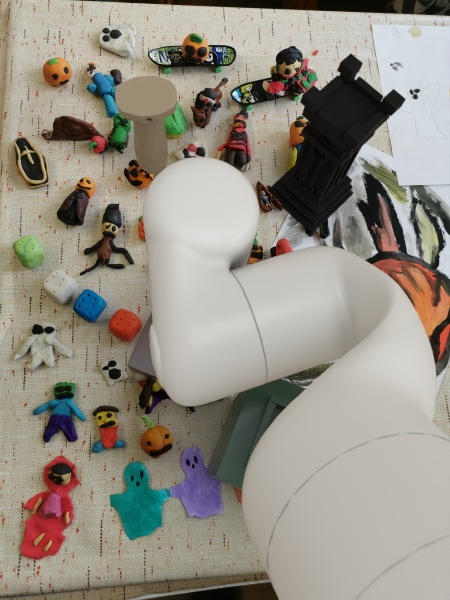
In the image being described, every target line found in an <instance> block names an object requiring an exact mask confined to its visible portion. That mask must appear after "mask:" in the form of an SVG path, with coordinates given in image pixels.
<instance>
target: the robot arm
mask: <svg viewBox="0 0 450 600" xmlns="http://www.w3.org/2000/svg"><path fill="white" fill-rule="evenodd" d="M165 167H166V168H165V169H163V170H162V171H161V172H160V173H159V174H158V175H157V176H156V177H155V178H154V179H152V181H151V183H150V184H149V186H148V188H147V190H146V193H145V194H144V199H143V203H142V224H143V230H144V238H145V249H146V258H147V259H146V260H147V268H148V279H149V293H150V306H151V307H150V308H151V312H152V324H151V326H150V331H149V338H150V343H149V344H150V351H151V359H152V363H153V367H154V370H155V372H156V377H157V379H158V381H157V382H158V383H159V385H160V386H161V388H162V389H164V391H165V392H166V394H167V396H168V397H169V399H171V400H172V401H173V402H174V403H176V404H177V405H179V406H182V407H198V406H202V405H206V404H210V403H212V402H217V401H219V400H222V399H225V398H228V397H231V396H233V395H237V394H238V393H240V392H243V391H245V390H248V389H251V388H254V387H257V386H260V385H263V384H265V383H268V382H271V381H274V380H277V379H280V378H281V379H283V378H286V377H289V376H292V375H295V374H297V373H300V372H301V373H302V372H304V371H306V370H309V369H312V368H315V367H318V366H322V365H325V364H328V363H330V362H334V361H335V362H334V363H333V364H332V365H330V366H329V367H328V368H327V369H326V370H324V371H323V372H322V373H321V374H320V375H319V376H318V377H316V378H315V379H314V380H313V381H312V382H311V383H310V384H309V385H308V386H307V387H306V388H305V390H304V391H303V392H302V393H301V394H300V395H299V396H298V397H296V398H295V399H294V400H293V401H292V402H291V403H290V404H289V405H288V406H287V407H286V408H285V409H284V410H283V411H282V412H281V413H280V414H279V415H278V416H277V417H276V419H275V420H274V421H273V423H272V424H271V425H270V426H269V428H268V429H267V430H266V432H265V433H264V434H263V436H262V437H261V439H260V440H259V442H258V444H257V445H256V447H255V449H254V451H253V453H252V455H251V457H250V459H249V462H248V465H247V468H246V471H245V476H244V481H243V486H242V490H241V506H242V512H243V519H244V521H245V525H246V527H247V530H248V533H249V536H250V538H251V540H252V542H253V545H254V547H255V549H256V551H257V553H258V554H257V555H258V556H259V558H260V560H261V563H262V565H263V568H264V570H265V572H266V574H267V577H268V579H269V582H270V584H271V586H272V589H273V591H274V592H275V594H276V597H277V599H278V600H450V436H449V435H448V434H446V433H445V432H444V431H443V430H442V429H441V428H440V427H439V426H438V425H437V424H436V423H435V422H433V421H434V416H435V409H436V403H437V382H438V381H437V380H438V379H437V369H436V367H437V366H436V362H435V357H434V353H433V349H432V346H431V342H430V339H429V336H428V333H427V332H426V329H425V326H424V324H423V322H422V320H421V317H420V315H419V313H418V312H417V310H416V308H415V306H414V305H413V303H412V302H411V299H409V297H408V295H407V294H406V293H405V291H404V290H403V288H402V287H401V286H400V284H399V283H397V281H395V280H394V279H393V278H392V277H391V276H390V275H389V274H387V273H386V272H384V271H383V270H381V269H380V268H378V267H377V266H375V265H373V264H372V263H370V262H369V261H367V260H365V259H363V258H362V257H361V256H359V255H357V254H355V253H353V252H351V251H349V250H347V249H344V248H341V247H337V246H332V245H331V246H330V245H314V246H310V247H308V246H307V247H304V248H300V249H296V250H293V251H289V252H286V253H283V254H278V255H276V256H273V257H269V258H266V259H262V260H260V261H257V262H254V263H251V264H248V262H249V259H250V255H251V252H252V249H253V245H254V242H255V239H256V236H257V232H258V229H259V223H260V215H261V213H260V204H259V199H258V196H257V193H256V191H255V189H254V187H253V185H252V183H250V181H249V180H248V178H247V176H245V174H243V173H242V172H241V171H240V170H239V169H238V168H236V167H234V166H233V165H232V164H230V163H228V162H226V161H223V160H221V159H219V158H215V157H214V158H213V157H208V156H193V157H187V158H184V159H179V160H178V161H175V162H172V163H170V164H169V165H168V166H165Z"/></svg>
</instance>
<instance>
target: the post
mask: <svg viewBox="0 0 450 600" xmlns="http://www.w3.org/2000/svg"><path fill="white" fill-rule="evenodd" d="M305 389H306V388H305V387H303V386H300V385H297V384H295V383H293V382H290V381H288V380H286V379H283V378H280V379H277V380H274V381H271V382H268V383H265V384H263V385H260V386H257V387H254V388H251V389H248V390H245V391H243V392H240V393H237V394H236V396H235V397H234V398H233V400H232V403H231V406H230V408H229V411H228V413H227V416H226V417H225V418H226V419H225V421H224V424H223V426H222V429H221V431H220V434H219V436H218V439H217V441H216V443H215V446H214V449H213V452H212V455H211V457H210V459H209V462H208V464H207V467H206V470H205V472H204V476H207V477H209V478H211V479H214V480H216V481H218V482H221V483H223V484H226V485H228V486H230V487H233V488H235V489H237V490H240V491H242V486H243V481H244V476H245V471H246V468H247V465H248V462H249V459H250V457H251V455H252V453H253V451H254V449H255V447H256V445H257V444H258V442H259V440H260V439H261V437H262V436H263V434H264V433H265V432H266V430H267V429H268V428H269V426H270V425H271V424H272V423H273V421H274V420H275V419H276V417H277V416H278V415H279V414H280V413H281V412H282V411H283V410H284V409H285V408H286V407H287V406H288V405H289V404H290V403H291V402H292V401H293V400H294V399H295V398H296V397H298V396H299V395H300V394H301V393H302V392H303V391H304V390H305Z"/></svg>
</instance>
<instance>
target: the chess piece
mask: <svg viewBox="0 0 450 600" xmlns="http://www.w3.org/2000/svg"><path fill="white" fill-rule="evenodd" d="M363 65H364V63H363V62H362V61H361V60H360V59H359V58H357V57H356V55H354V54H352V53H349V54H348V55H347V56H346V57H344V59H342V60H341V61H340V63H339V64H338V67H337V72H338V73H339V75H338V74H337V75H336V76H334V78H332V79H331V80H330V81H329V82H328V83H327V84H325V86H323V87H322V88H321V89H319V88H318V87H317V86H315V85H312V86H311V87H309V88H308V89H307V90H306V91H305V92H304V93H303V94H302V96H301V98H300V104H301V105H302V106H304V107H303V110H302V112H301V116H302V117H303V118H304V119H305V120H306V121H308V123H307V124H306V125H305V126H304V127H302V129H301V131H300V134H301V135H302V136H303V141H302V143H301V145H300V149H299V151H298V154H297V157H296V159H295V162H294V165H293V166H291V168H289V169H288V170H287V171H286V172H285V173H284V174H283V175H282V176H281V177H279V179H278V180H276V181H275V182H274V183H273V184H272V185H271V186H270V187H269V188H268V189H267V190H268V191H269V192H270V193H271V194H272V195H274V197H275V198H276V199H278V201H279V202H280V203H281V204H282V206H281V207H282V208H283V209H284V211H286V212H287V213H288V214H289V215H290V216H292V218H293V219H294V220H295V221H297V222H298V223H299V224H300V225H301V226H302V227H303V228H305V230H307V232H309V233H310V234H311V235H312V234H313V233H314V232H316V231H317V230H318V229H319V228H320V227H321V226H322V225H323V224H324V223H325V222H326V221H327V220H328V219H329V218H330V217H331V216H332V215H334V213H336V212H337V210H338V209H340V208H341V207H342V206H343V205H344V204H345V203H346V202H347V201H348V200H349V199H350V198H351V197H352V196H353V195H354V193H355V192H354V191H353V190H352V189H353V187H354V185H352V184H351V183H352V182H353V179H351V178H350V176H349V175H348V173H349V171H350V169H351V167H352V165H353V164H354V162H355V160H356V158H357V157H358V155H359V153H360V151H361V149H362V148H363V146H364V145H366V144H367V142H368V141H370V140H371V139H372V138H373V137H374V135H375V134H376V131H377V130H378V129H379V128H380V127H381V126H382V125H383V124H385V123H386V122H387V121H388V120H389V119H390V117H392V116H393V115H395V113H397V112H398V110H400V108H402V107H403V105H404V103H405V101H406V100H407V98H406V97H404V96H403V95H402V94H401V93H399V91H397V90H396V89H394V88H393V89H391V90H390V91H389V92H388V93H387V94H386V95H385V96H384V95H383V94H382V93H381V92H380V91H378V90H377V89H376V88H375V87H373V86H372V85H371V84H370V83H368V82H367V81H366V80H365V79H364V78H363V77H361V76H360V75H359V76H358V77H357V74H358V73H360V71H361V69H362V67H363ZM356 77H357V78H356Z"/></svg>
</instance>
